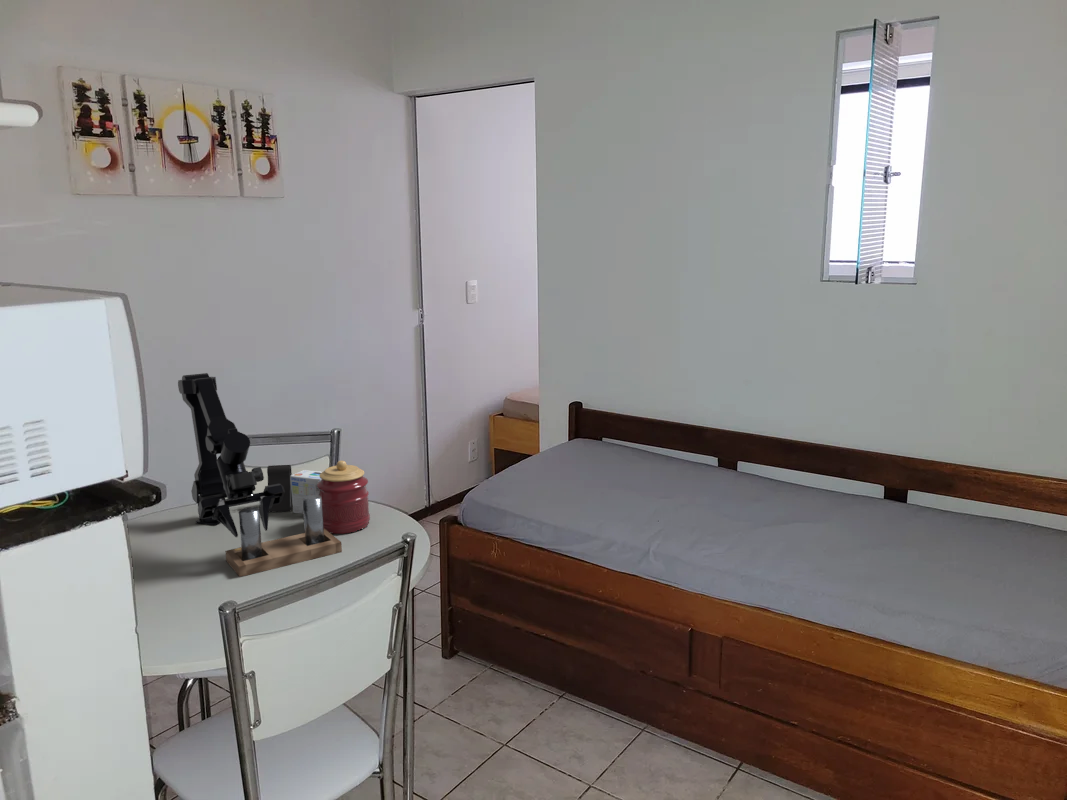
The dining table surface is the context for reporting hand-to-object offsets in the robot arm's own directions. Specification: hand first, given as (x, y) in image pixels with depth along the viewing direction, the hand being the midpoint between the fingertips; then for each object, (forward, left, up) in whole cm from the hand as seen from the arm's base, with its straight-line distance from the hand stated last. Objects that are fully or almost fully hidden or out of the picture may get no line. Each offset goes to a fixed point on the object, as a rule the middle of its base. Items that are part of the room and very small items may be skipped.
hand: (251, 533), depth 181 cm
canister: (+8, +28, -8) cm, 31 cm away
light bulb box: (-5, +36, -8) cm, 38 cm away
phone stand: (-16, +37, -8) cm, 41 cm away
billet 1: (-1, +1, -8) cm, 8 cm away
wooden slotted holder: (+4, +7, -8) cm, 11 cm away
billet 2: (+9, +12, -8) cm, 17 cm away
